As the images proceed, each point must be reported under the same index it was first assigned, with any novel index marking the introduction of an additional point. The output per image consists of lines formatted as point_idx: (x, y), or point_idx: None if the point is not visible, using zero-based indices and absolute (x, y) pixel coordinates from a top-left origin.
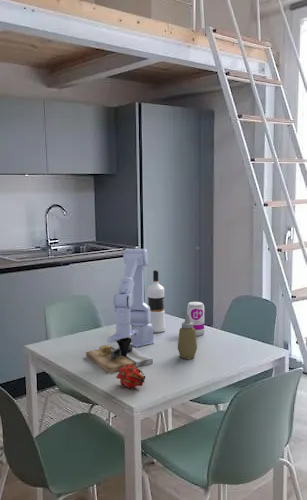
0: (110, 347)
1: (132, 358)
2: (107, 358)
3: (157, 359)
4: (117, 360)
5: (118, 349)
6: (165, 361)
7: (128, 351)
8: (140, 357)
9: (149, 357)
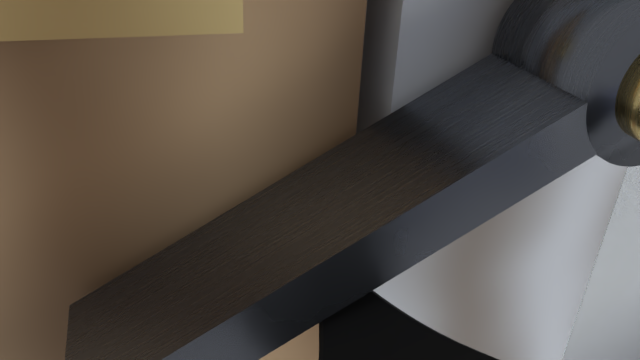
0: (212, 30)
1: None
2: (28, 204)
3: (621, 273)
4: None
5: (275, 344)
6: (623, 337)
7: None
8: (484, 330)
9: (552, 355)
